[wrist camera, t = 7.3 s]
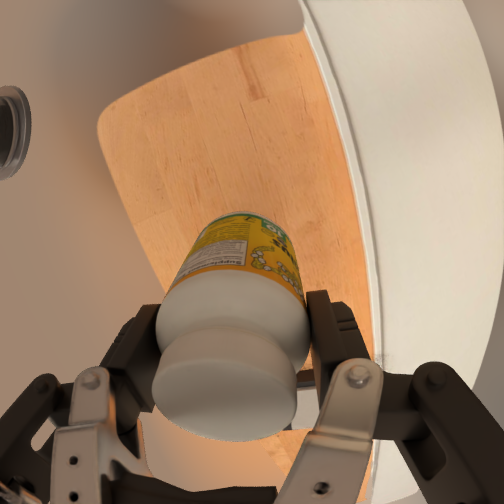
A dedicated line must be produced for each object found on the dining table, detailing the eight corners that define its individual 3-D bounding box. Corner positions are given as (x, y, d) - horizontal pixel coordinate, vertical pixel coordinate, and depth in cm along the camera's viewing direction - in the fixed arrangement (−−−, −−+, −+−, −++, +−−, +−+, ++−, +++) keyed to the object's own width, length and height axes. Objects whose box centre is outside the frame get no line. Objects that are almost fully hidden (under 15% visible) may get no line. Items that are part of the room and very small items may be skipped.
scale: (282, 420, 39) (282, 433, 37) (275, 373, 34) (275, 388, 32) (357, 411, 38) (360, 423, 35) (367, 361, 33) (371, 375, 31)
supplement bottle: (181, 224, 15) (89, 347, 6) (281, 196, 14) (304, 313, 5) (215, 307, 17) (179, 452, 8) (304, 288, 16) (331, 439, 7)
